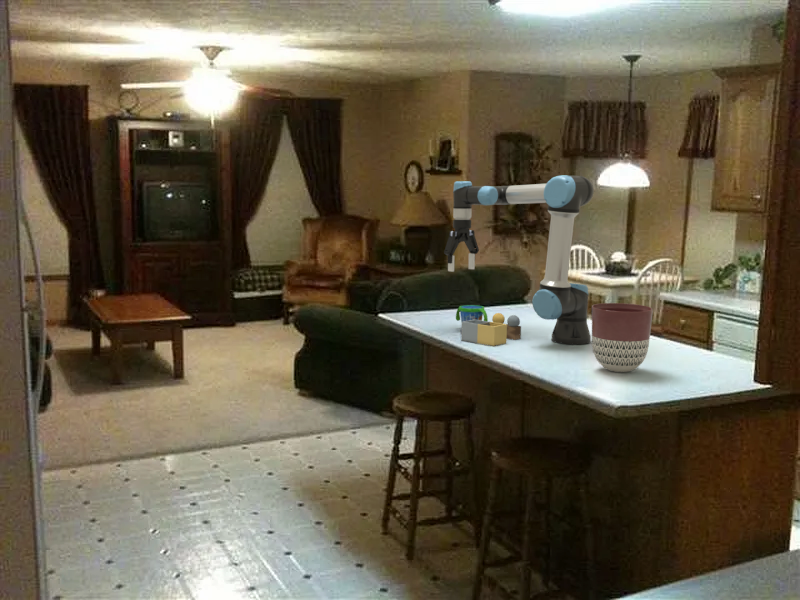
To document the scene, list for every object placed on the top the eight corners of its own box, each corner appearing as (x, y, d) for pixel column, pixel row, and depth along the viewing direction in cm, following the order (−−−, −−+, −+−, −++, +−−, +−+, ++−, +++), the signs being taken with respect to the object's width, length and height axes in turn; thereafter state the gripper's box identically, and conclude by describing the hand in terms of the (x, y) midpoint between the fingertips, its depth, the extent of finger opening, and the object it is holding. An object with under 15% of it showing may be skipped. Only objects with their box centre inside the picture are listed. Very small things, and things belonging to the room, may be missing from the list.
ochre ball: (506, 325, 336) (507, 313, 335) (499, 326, 332) (500, 314, 331) (496, 323, 339) (497, 311, 338) (489, 325, 335) (489, 313, 335)
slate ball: (522, 327, 331) (522, 315, 330) (514, 329, 327) (515, 316, 326) (511, 326, 334) (512, 313, 333) (504, 327, 330) (504, 315, 330)
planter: (613, 379, 263) (616, 313, 260) (577, 367, 281) (579, 304, 278) (661, 374, 271) (665, 310, 268) (623, 362, 289) (626, 301, 286)
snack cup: (449, 329, 350) (449, 305, 349) (467, 326, 357) (467, 303, 356) (475, 334, 338) (475, 310, 337) (493, 331, 345) (494, 307, 344)
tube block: (506, 343, 321) (506, 324, 320) (493, 346, 315) (494, 326, 314) (474, 337, 331) (474, 319, 330) (461, 340, 325) (461, 321, 324)
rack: (520, 338, 331) (521, 326, 330) (514, 339, 328) (515, 327, 327) (496, 334, 339) (496, 322, 338) (490, 335, 336) (490, 323, 335)
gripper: (473, 217, 353) (472, 267, 356) (435, 219, 335) (435, 271, 338) (487, 218, 348) (486, 268, 351) (450, 220, 330) (449, 273, 333)
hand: (461, 270), depth 344 cm, fingers open, 13 cm apart
